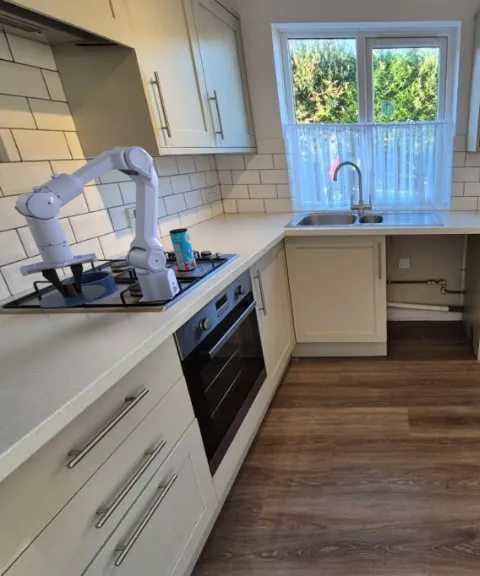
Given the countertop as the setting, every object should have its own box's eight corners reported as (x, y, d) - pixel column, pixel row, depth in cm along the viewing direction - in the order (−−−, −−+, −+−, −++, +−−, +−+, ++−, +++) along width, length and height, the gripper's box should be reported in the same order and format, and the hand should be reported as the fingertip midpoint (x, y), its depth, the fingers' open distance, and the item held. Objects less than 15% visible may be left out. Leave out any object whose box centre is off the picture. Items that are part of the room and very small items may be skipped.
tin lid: (116, 286, 101) (111, 271, 99) (90, 307, 89) (83, 290, 87) (61, 291, 98) (54, 275, 97) (26, 314, 86) (18, 296, 84)
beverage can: (195, 270, 134) (185, 231, 128) (177, 272, 133) (167, 233, 127) (198, 265, 140) (188, 227, 134) (181, 267, 138) (171, 229, 132)
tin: (127, 281, 126) (122, 267, 124) (100, 303, 110) (94, 287, 108) (86, 285, 124) (81, 270, 122) (53, 307, 108) (46, 291, 105)
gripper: (10, 253, 80) (35, 308, 86) (90, 240, 89) (108, 290, 94) (12, 247, 85) (35, 299, 91) (88, 235, 94) (105, 283, 99)
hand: (72, 294), depth 93 cm, fingers closed on tin lid, 2 cm apart
